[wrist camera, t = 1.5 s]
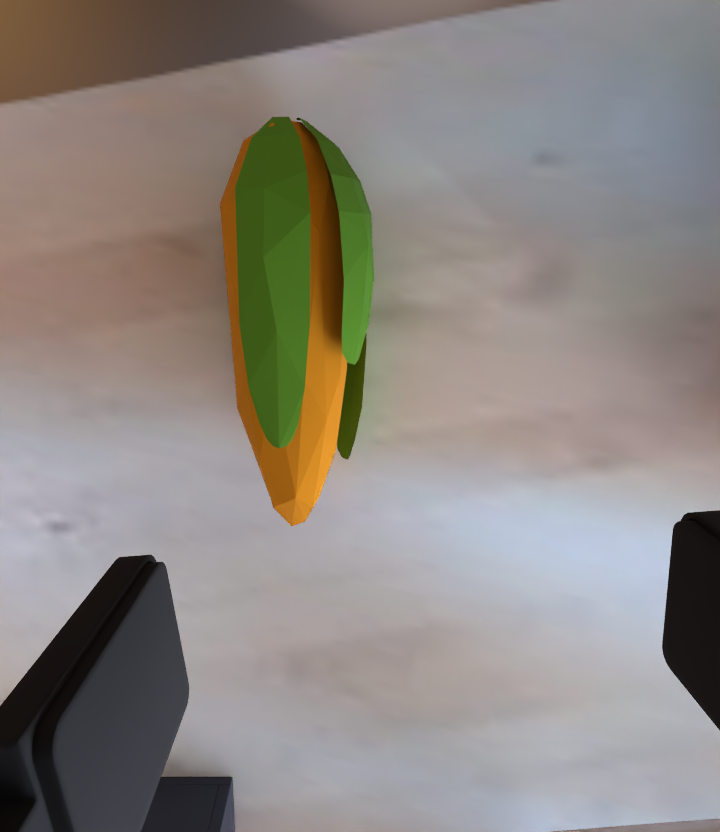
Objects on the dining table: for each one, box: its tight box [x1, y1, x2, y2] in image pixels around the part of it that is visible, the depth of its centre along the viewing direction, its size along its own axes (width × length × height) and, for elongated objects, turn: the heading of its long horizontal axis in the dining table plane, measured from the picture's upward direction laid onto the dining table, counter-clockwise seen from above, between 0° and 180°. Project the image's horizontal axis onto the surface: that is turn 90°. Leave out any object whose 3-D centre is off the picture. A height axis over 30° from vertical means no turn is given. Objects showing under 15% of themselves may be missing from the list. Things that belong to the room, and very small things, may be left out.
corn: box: [220, 117, 374, 526], centre depth 26 cm, size 7×8×20 cm
